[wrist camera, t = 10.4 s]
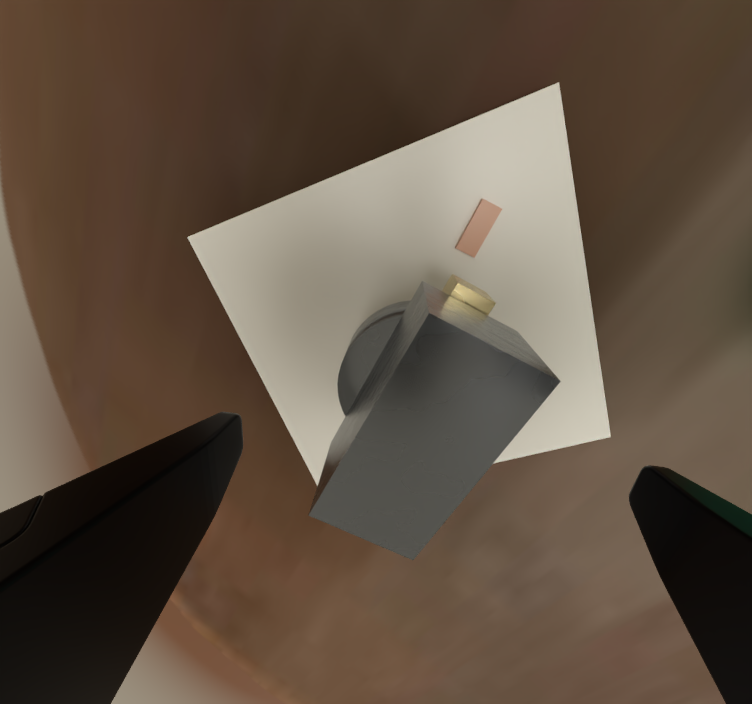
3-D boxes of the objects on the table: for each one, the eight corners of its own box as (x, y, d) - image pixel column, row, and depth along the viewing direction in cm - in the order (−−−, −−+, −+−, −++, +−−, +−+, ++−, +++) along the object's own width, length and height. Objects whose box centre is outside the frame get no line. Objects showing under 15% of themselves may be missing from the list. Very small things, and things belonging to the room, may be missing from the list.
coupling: (431, 457, 18) (442, 573, 13) (317, 404, 18) (275, 501, 12) (533, 316, 15) (610, 386, 9) (400, 244, 14) (396, 272, 9)
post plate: (199, 235, 19) (151, 243, 15) (548, 90, 16) (592, 56, 12) (329, 488, 25) (316, 536, 22) (600, 424, 22) (640, 470, 18)
